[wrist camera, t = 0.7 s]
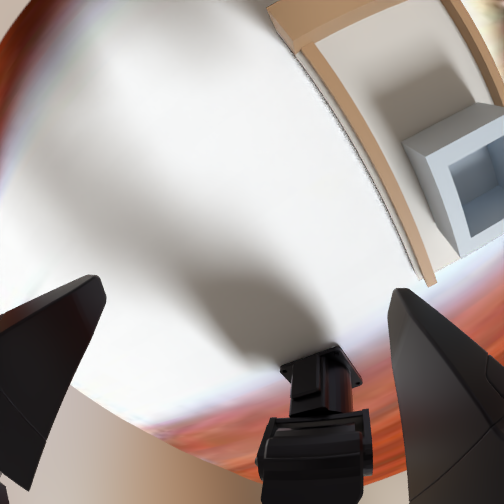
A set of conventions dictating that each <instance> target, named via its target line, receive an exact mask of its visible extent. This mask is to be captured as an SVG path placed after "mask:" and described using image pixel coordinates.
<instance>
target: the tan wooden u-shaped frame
mask: <svg viewBox="0 0 504 504" xmlns="http://www.w3.org/2000/svg"><path fill="white" fill-rule="evenodd" d="M266 9H267V11H268V14H269V16H270V18H271V20H272V22H273V25H274V27H275V29H276V31H277V33H278V34H279V35H280V37H281V38H282V39H283V40H284V42H285V43H286V44H287V46H288V47H289V48H290V50H291V51H292V52H293V54H294V55H295V56H296V58H297V59H298V60H299V62H300V63H301V64H302V66H303V67H304V68H305V70H306V71H307V73H308V74H309V76H310V77H311V78H312V80H313V81H314V83H315V84H316V86H317V87H318V89H319V90H320V92H321V93H322V95H323V96H324V98H325V99H326V101H327V102H328V104H329V105H330V107H331V108H332V110H333V111H334V113H335V115H336V116H337V118H338V119H339V121H340V123H341V124H342V126H343V128H344V129H345V131H346V133H347V134H348V136H349V138H350V139H351V141H352V143H353V145H354V146H355V148H356V150H357V152H358V153H359V155H360V157H361V159H362V161H363V162H364V164H365V166H366V168H367V170H368V172H369V173H370V175H371V177H372V179H373V181H374V183H375V185H376V187H377V189H378V191H379V193H380V195H381V197H382V199H383V201H384V203H385V205H386V207H387V209H388V211H389V213H390V215H391V217H392V220H393V222H394V224H395V226H396V228H397V231H398V233H399V235H400V237H401V240H402V242H403V244H404V247H405V249H406V251H407V254H408V256H409V258H410V261H411V263H412V266H413V268H414V271H415V273H416V275H417V278H418V280H421V279H423V278H424V280H425V282H426V284H427V286H428V287H430V286H432V285H434V284H436V283H437V281H436V277H435V274H434V273H435V272H437V271H439V270H441V269H442V268H444V267H446V266H448V265H450V264H452V263H454V262H455V261H457V260H459V259H461V258H460V257H459V256H458V254H457V253H456V252H455V250H454V249H453V248H452V246H451V245H450V244H449V242H448V241H447V240H446V238H445V237H444V236H443V235H442V233H441V232H440V231H439V230H438V228H437V226H436V223H435V220H434V218H433V215H432V212H431V210H430V207H429V205H428V202H427V200H426V197H425V195H424V192H423V190H422V187H421V185H420V183H419V180H418V178H417V176H416V173H415V171H414V169H413V167H412V165H411V162H410V160H409V158H408V156H407V154H406V152H405V150H404V148H403V146H402V144H401V142H402V141H404V140H406V139H408V138H410V137H412V136H413V135H415V134H417V133H419V132H421V131H423V130H425V129H427V128H429V127H431V126H432V125H434V124H436V123H438V122H440V121H442V120H444V119H446V118H448V117H450V116H452V115H454V114H456V113H458V112H460V111H462V110H464V109H465V108H467V107H469V106H471V105H473V104H475V103H477V102H480V103H486V104H491V105H496V106H501V107H504V83H503V81H502V78H501V76H500V74H499V71H498V69H497V67H496V65H495V62H494V60H493V58H492V56H491V54H490V52H489V50H488V48H487V46H486V44H485V42H484V40H483V38H482V36H481V34H480V33H479V31H478V29H477V27H476V25H475V24H474V22H473V20H472V18H471V17H470V15H469V13H468V12H467V10H466V9H465V7H464V5H463V4H462V2H461V1H460V0H279V1H277V2H276V3H274V4H272V5H270V6H269V7H267V8H266Z"/></svg>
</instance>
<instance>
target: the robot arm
mask: <svg viewBox="0 0 504 504" xmlns="http://www.w3.org/2000/svg"><path fill="white" fill-rule="evenodd" d="M105 304H106V294H105V291H104V288H103V285H102V282H101V279H100V278H99V276H97V275H85V276H83V277H81V278H79V279H76V280H74V281H72V282H70V283H68V284H65V285H63V286H61V287H59V288H56V289H54V290H52V291H50V292H48V293H46V294H43V295H41V296H39V297H37V298H35V299H33V300H31V301H28V302H26V303H24V304H22V305H20V306H18V307H16V308H14V309H12V310H10V311H7V312H5V313H4V314H1V315H0V477H1V475H2V473H3V474H4V475H6V476H7V477H8V478H10V479H11V480H13V481H14V482H15V483H17V484H18V485H19V486H21V487H22V488H24V489H25V490H27V491H29V490H30V488H31V485H32V482H33V478H34V476H35V473H36V469H37V467H38V464H39V461H40V457H41V455H42V452H43V449H44V447H45V444H46V440H47V438H48V435H49V433H50V430H51V428H52V425H53V423H54V420H55V418H56V415H57V413H58V411H59V408H60V406H61V403H62V401H63V399H64V396H65V394H66V392H67V390H68V387H69V385H70V383H71V381H72V379H73V376H74V374H75V372H76V370H77V368H78V366H79V364H80V361H81V359H82V357H83V355H84V353H85V351H86V349H87V347H88V345H89V343H90V341H91V339H92V336H93V334H94V331H95V329H96V326H97V324H98V321H99V319H100V316H101V314H102V311H103V309H104V307H105ZM388 328H389V338H390V349H391V361H392V369H393V375H394V380H395V386H396V391H397V397H398V403H399V409H400V416H401V423H402V430H403V438H404V446H405V455H406V465H407V475H408V490H409V501H410V503H409V504H504V366H502V365H501V364H500V363H499V362H498V361H497V360H495V359H494V358H493V357H492V356H491V355H488V353H487V352H486V351H485V350H484V349H483V348H481V347H480V346H479V345H478V344H477V343H476V342H474V341H473V340H472V339H471V338H470V337H468V336H467V335H466V334H465V333H464V332H462V331H461V330H460V329H459V328H458V327H456V326H455V325H454V324H453V323H452V322H450V321H449V320H448V319H447V318H445V317H444V316H443V315H442V314H440V313H439V312H438V311H437V310H435V309H434V308H433V307H432V306H430V305H429V304H428V303H426V302H425V301H424V300H423V299H421V298H420V297H419V296H417V295H416V294H415V293H414V292H412V291H411V290H410V289H408V288H396V289H394V291H393V293H392V297H391V302H390V306H389V310H388ZM280 373H281V374H282V375H283V376H284V377H285V378H286V379H287V380H288V381H289V382H290V383H291V391H290V398H291V400H290V410H289V417H290V418H277V417H272V418H270V420H269V423H268V425H267V427H266V430H265V433H264V436H263V439H262V441H261V444H260V447H259V450H258V453H257V457H256V458H255V464H256V465H257V466H258V472H259V476H260V479H261V480H262V481H263V487H262V494H261V502H262V504H358V502H359V501H360V499H361V497H362V495H363V476H371V475H372V473H373V450H372V436H371V427H370V417H369V409H362V411H355V412H353V398H352V388H355V387H357V386H360V385H362V378H361V377H360V375H359V374H358V372H357V371H356V370H355V368H354V367H353V365H352V364H351V362H350V361H349V359H348V358H347V356H346V355H345V354H344V352H343V351H342V349H341V348H340V347H334V348H331V349H328V350H326V351H323V352H320V353H318V354H315V355H312V356H309V357H306V358H304V359H301V360H298V361H295V362H292V363H289V364H286V365H283V366H281V367H280ZM0 504H9V500H8V496H7V491H6V486H4V485H3V484H2V483H1V482H0Z"/></svg>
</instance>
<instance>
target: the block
mask: <svg viewBox="0 0 504 504" xmlns="http://www.w3.org/2000/svg"><path fill="white" fill-rule="evenodd" d="M401 144H402V146H403V148H404V150H405V152H406V154H407V156H408V158H409V160H410V162H411V165H412V167H413V169H414V171H415V173H416V176H417V178H418V180H419V183H420V185H421V187H422V190H423V192H424V195H425V197H426V200H427V202H428V205H429V207H430V210H431V212H432V215H433V218H434V220H435V223H436V226H437V228H438V230H439V231H440V232H441V233H442V235H443V236H444V237H445V238H446V240H447V241H448V242H449V244H450V245H451V246H452V248H453V249H454V250H455V252H456V253H457V254H458V256H459V257H460V258H461V259H462V258H464V257H466V256H467V255H469V254H471V253H473V252H474V251H476V250H478V249H480V248H481V247H483V246H485V245H486V244H488V243H490V242H491V241H493V240H495V239H496V238H498V237H500V236H501V235H503V234H504V107H501V106H496V105H491V104H486V103H480V102H477V103H475V104H473V105H471V106H469V107H467V108H465V109H464V110H462V111H460V112H458V113H456V114H454V115H452V116H450V117H448V118H446V119H444V120H442V121H440V122H438V123H436V124H434V125H432V126H431V127H429V128H427V129H425V130H423V131H421V132H419V133H417V134H415V135H413V136H412V137H410V138H408V139H406V140H404V141H402V142H401Z"/></svg>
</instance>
